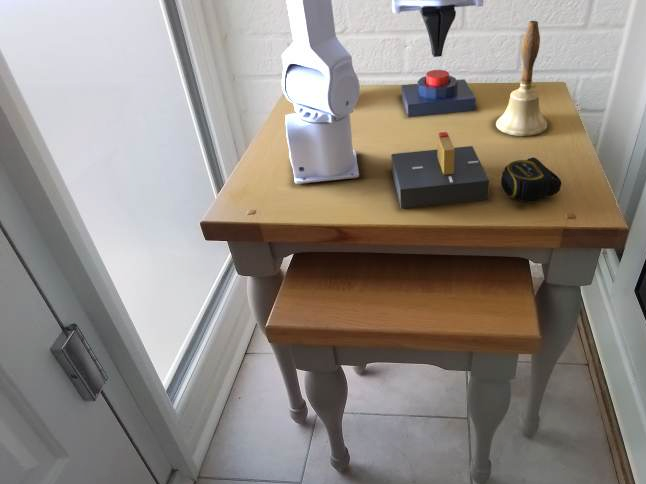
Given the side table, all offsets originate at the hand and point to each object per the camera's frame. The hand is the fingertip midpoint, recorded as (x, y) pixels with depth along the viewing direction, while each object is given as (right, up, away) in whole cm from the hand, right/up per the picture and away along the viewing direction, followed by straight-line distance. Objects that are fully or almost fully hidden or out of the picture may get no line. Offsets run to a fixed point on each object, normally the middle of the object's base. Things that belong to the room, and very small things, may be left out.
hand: (436, 54), depth 91 cm
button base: (+1, -6, +6) cm, 9 cm away
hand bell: (+14, -13, -2) cm, 19 cm away
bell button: (0, -4, +4) cm, 5 cm away
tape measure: (+11, -27, -17) cm, 34 cm away
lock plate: (-1, -25, -15) cm, 29 cm away
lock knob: (-1, -23, -17) cm, 29 cm away
